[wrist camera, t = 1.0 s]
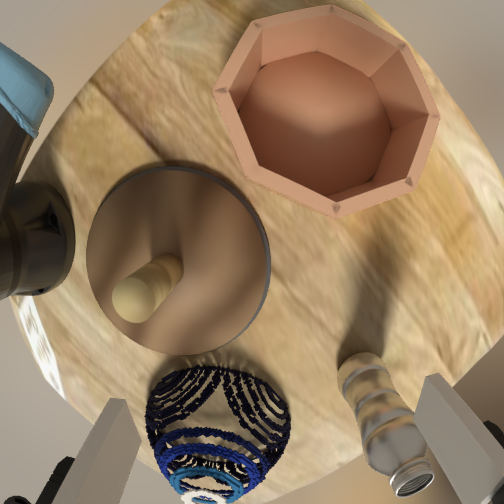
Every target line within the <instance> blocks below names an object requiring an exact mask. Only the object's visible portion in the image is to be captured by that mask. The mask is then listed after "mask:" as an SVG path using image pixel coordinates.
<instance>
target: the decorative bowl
mask: <svg viewBox="0 0 504 504" xmlns="http://www.w3.org/2000/svg"><path fill="white" fill-rule="evenodd" d="M199 369H200V371H199V374H197V373H198V370H199ZM190 370H191V372H190V374H189V375H188V376H187V378H185V376H186V375H187V373H188V371H190ZM203 370H204V373H203V375H204V376H201V378H199V377H200V375H201V374H202V372H203ZM212 370H213V371H215V370H217V371H215V374H214V375H213V376H212V381H213V382H212V381H210V382H209V384H207V387H205V389H204V390H203V392H202V393H201V394H200V395H201V397H200V398H199V397H197V398H195V399H194V401H192V403H190V404H188V405H187V407H185V409H183V406H182V405H184V404H186V401H187V400H189V399H190V398H191V397H193V396H194V394H196V392H198V390H199V389H200V388H201V387H202V385H203V384H204V383H205V381H206V380H207V377H209V375H210V374H211V373H212ZM220 370H221V373H220ZM225 371H226V374H225V375H224V372H225ZM229 372H230V373H231V374H233V373H234V374H233V376H234V377H235V376H236V378H235V379H234V382H233V383H232V384H233V386H234V385H235V386H236V387H237V388H236V390H237V391H238V393H236V396H237V398H238V399H240V400H241V403H242V405H241V407H242V411H243V412H244V413H245V414H246V416H247V417H248V418H249V421H250V422H251V423H252V424H256V425H258V426H259V427H260V428H261V429H262V430H263V431H264V432H265V433H266V434H268V435H269V436H270V437H269V439H270V440H272V441H273V442H274V441H276V442H277V443H276V442H275V443H273V444H271V443H268V440H267V439H266V438H265V437H264V436H262V435H261V434H260V433H259V432H258V431H257V430H256V429H255V428H254V429H252V428H251V427H249V426H248V423H247V422H246V421H245V420H244V418H243V417H242V416H241V414H240V411H239V410H240V409H241V408H240V407H239V404H238V402H237V399H236V398H235V396H234V395H233V396H232V394H234V391H233V389H232V386H231V385H230V386H229V383H231V380H230V376H229ZM194 373H195V374H197V377H195V376H196V375H195V374H194ZM240 374H241V377H242V379H243V381H244V380H245V381H244V382H243V383H244V384H246V386H247V387H248V391H249V393H250V396H251V398H252V399H253V402H254V404H255V406H254V408H255V411H259V412H258V415H259V416H260V418H261V419H262V420H263V421H264V422H265V423H266V424H267V425H268V426H269V427H270V428H271V429H272V430H275V431H278V432H279V433H281V432H282V433H284V435H282V436H283V437H280V436H279V435H278V434H277V433H274V434H273V433H270V432H269V431H268V430H267V429H265V428H264V427H263V426H262V425H261V424H260V423H259V422H258V420H257V419H256V418H255V416H256V414H255V413H254V412H253V409H252V407H251V404H250V403H249V402H248V400H247V398H246V397H245V394H244V392H243V391H242V392H241V390H243V388H242V384H241V383H239V382H241V377H240ZM223 375H224V377H223V379H224V380H225V381H224V383H223V384H222V386H223V390H224V391H225V390H226V392H224V394H225V397H227V400H228V404H229V407H230V408H231V409H232V411H233V414H234V415H235V416H238V418H240V419H241V420H239V423H240V425H241V426H242V427H243V428H244V429H245V428H247V429H248V430H249V431H250V432H251V434H252V435H253V436H254V437H255V438H257V439H258V440H259V441H260V442H261V443H262V444H264V445H267V446H266V448H267V449H268V450H267V452H264V453H263V454H261V451H260V450H259V449H258V448H257V447H256V446H254V445H253V444H252V443H251V442H250V441H245V440H244V439H243V438H242V437H241V436H240V435H238V436H237V435H235V434H234V433H233V432H231V433H230V432H226V431H224V432H223V431H222V430H221V429H219V430H218V429H214V428H212V429H211V428H207V427H205V428H202V427H200V428H199V427H198V426H197V427H195V428H193V429H192V428H191V427H190V428H188V429H187V428H186V427H185V428H183V429H181V430H180V429H179V428H178V429H176V430H173V431H171V432H169V433H166V434H164V435H163V434H162V433H161V432H160V431H159V429H164V428H166V425H168V424H170V423H172V422H175V421H177V420H179V419H180V420H184V419H186V417H187V416H189V415H190V413H189V412H192V413H193V412H195V411H196V410H197V409H198V407H200V406H202V404H204V402H205V401H206V400H207V399H208V397H210V395H212V393H213V392H214V390H213V388H214V389H216V388H217V385H219V382H221V379H220V376H223ZM172 377H173V378H172ZM249 377H251V378H252V379H254V384H255V386H256V387H257V391H258V393H259V395H260V396H261V399H262V401H263V402H264V404H265V405H266V408H267V409H268V410H269V411H270V412H271V413H273V414H274V415H275V416H276V417H277V418H279V419H281V420H282V419H286V422H285V424H284V425H283V426H281V425H279V424H276V423H275V422H272V421H271V420H270V419H269V418H268V417H267V418H265V417H266V416H267V414H266V413H265V412H263V409H262V408H261V407H260V405H259V404H258V403H257V401H259V398H258V396H257V394H256V392H255V390H252V389H251V386H253V384H252V383H250V382H251V379H249ZM171 378H172V379H171ZM184 378H185V380H184V381H183V382H182V380H183V379H184ZM193 378H195V379H194V380H193ZM198 378H199V381H198V383H199V384H198V386H197V385H194V384H195V383H196V382H197V380H198ZM169 379H171V380H170V381H169V382H167V383H165V381H167V380H169ZM248 379H249V380H248ZM162 380H163V381H161V382H159V383H158V384H157V386H156V387H155V388H154V390H153V391H151V393H150V394H151V395H150V397H149V400H148V404H147V406H146V412H145V413H146V414H145V416H144V417H145V419H146V420H145V421H146V424H147V425H146V427H145V428H146V430H147V431H146V432H147V433H148V435H147V436H148V439H149V441H150V446H152V449H154V457H155V459H156V460H157V464H158V465H159V468H160V469H161V473H163V474H164V476H165V477H166V478H167V479H168V481H169V483H170V484H171V486H172V487H174V489H175V490H176V491H177V492H178V493H179V494H180V497H181V500H183V501H184V503H186V504H198V503H196V502H201V503H208V504H229V503H232V502H234V501H235V500H238V498H240V497H241V496H243V495H244V494H246V493H248V492H249V491H251V490H252V489H254V488H255V487H256V486H257V485H259V483H261V482H263V480H264V479H266V478H265V475H266V473H268V471H269V469H271V468H272V467H273V466H274V465H275V464H276V462H277V461H278V460H279V458H281V455H282V454H284V449H285V447H286V444H288V439H290V430H291V424H290V421H291V418H290V415H289V414H288V410H287V409H288V407H287V404H286V403H285V402H284V401H283V400H282V399H281V398H280V396H279V395H278V394H277V393H276V392H275V391H274V390H273V389H272V388H271V387H270V386H269V385H268V384H267V383H266V382H263V381H262V380H261V379H259V380H258V379H257V378H256V377H255V378H254V377H253V376H252V375H251V374H249V375H248V374H247V372H245V373H244V372H242V373H241V372H240V371H239V370H238V371H237V370H236V369H235V370H233V369H232V370H231V369H230V368H229V367H227V368H226V369H225V368H221V367H220V366H218V367H215V366H214V367H213V366H209V365H208V366H206V367H205V366H202V367H200V366H197V365H196V366H194V367H193V368H191V369H190V368H187V369H186V370H184V369H182V370H180V371H178V372H176V371H174V372H173V373H171V374H169V375H168V376H166V377H164V378H163V379H162ZM189 380H191V381H192V380H193V381H192V383H190V385H188V387H186V389H185V390H184V391H183V389H182V387H183V386H184V385H185V384H186V383H187V382H188V381H189ZM180 382H182V383H181V384H180V385H179V386H178V387H176V386H177V385H178V384H179V383H180ZM212 384H213V385H214V386H213V385H212ZM261 384H263V385H264V387H265V391H266V392H267V394H268V396H269V399H270V400H271V401H272V402H273V403H274V404H275V405H276V406H277V407H278V408H279V409H281V410H284V413H283V414H279V413H277V412H276V411H275V410H274V409H273V408H272V407H271V406H270V405H269V404H268V402H267V401H266V399H265V396H264V395H263V394H262V391H261V388H260V385H261ZM192 385H194V387H192V389H191V386H192ZM228 386H229V387H228ZM174 387H176V388H175V389H174V390H172V389H173V388H174ZM227 387H228V388H227ZM189 389H191V390H190V391H189ZM171 390H172V392H170V393H169V394H167V395H165V396H163V397H161V398H159V397H158V398H156V397H155V395H158V396H161V395H163V394H165V393H167V392H169V391H171ZM178 390H180V391H183V392H181V393H180V394H179V395H177V397H175V398H173V399H171V398H169V397H170V396H171V395H173V394H175V393H177V392H178ZM187 391H189V392H187ZM185 392H187V393H186V394H185ZM272 392H273V393H274V394H275V395H276V396H277V397H278V399H279V401H278V400H277V399H276V398H275V397H274V395H273V393H272ZM183 394H185V395H184V397H182V396H183ZM180 397H182V398H180ZM167 398H169V399H167ZM179 398H180V400H178V399H179ZM230 398H232V399H233V401H231V400H230ZM165 399H167V400H165ZM161 400H165V401H163V402H161V405H160V406H159V405H158V406H155V405H153V403H154V402H156V403H158V402H160V401H161ZM176 400H178V401H176ZM170 401H172V402H174V401H176V402H175V403H174V404H172V405H170V406H169V407H167V408H164V409H162V410H158V409H160V408H162V407H164V404H166V403H168V402H170ZM196 403H198V404H196ZM177 405H180V407H178V408H177V407H176V406H177ZM235 406H236V408H237V409H236V410H235V409H234V407H235ZM151 409H153V410H154V409H155V410H158V411H156V412H155V411H154V412H153V411H152V410H151ZM181 409H183V410H181ZM180 410H181V413H182V414H180V415H178V416H177V415H176V414H175V413H177V412H179V411H180ZM186 411H188V413H186V414H185V413H184V412H186ZM159 414H160V415H159ZM173 414H175V415H173ZM251 414H252V415H253V416H254V417H253V418H252V417H251V416H250V415H251ZM171 415H173V416H171ZM168 416H171V417H169V418H167V419H164V418H166V417H168ZM157 417H158V418H157ZM155 418H157V419H158V420H162V419H164V420H162V423H161V422H160V421H154V420H153V419H155ZM158 424H159V425H158ZM156 429H157V431H156V432H157V435H156V433H155V430H156ZM183 435H184V437H185V438H186V437H190V438H191V437H194V436H195V437H196V438H197V437H199V436H201V435H204V436H205V437H209V436H211V435H213V436H214V437H215V438H216V437H221V438H222V439H223V440H227V441H229V442H230V441H231V442H236V443H237V444H238V445H242V446H243V447H245V448H246V449H247V450H248V451H250V452H251V453H252V454H253V455H255V456H256V457H255V458H253V459H249V458H248V457H246V456H245V455H244V454H243V453H241V454H240V453H238V452H237V451H236V450H234V451H233V450H232V449H227V448H226V447H222V446H221V445H218V446H215V445H214V444H210V443H208V444H204V443H203V444H201V443H198V444H196V443H193V444H191V443H187V444H185V445H184V444H183V443H182V444H180V445H177V446H175V445H173V444H172V443H171V441H174V440H176V439H179V438H181V436H183ZM275 436H276V439H275ZM166 442H167V443H168V444H169V445H171V446H172V448H168V447H167V445H166ZM276 448H277V451H276ZM271 451H272V452H271ZM162 452H163V453H162ZM194 453H198V454H199V453H201V454H205V455H207V454H210V455H212V456H216V457H217V456H222V457H223V458H224V459H226V458H227V459H228V460H230V461H231V462H227V463H226V466H225V467H226V469H228V470H230V471H229V473H231V475H230V474H229V473H227V472H225V470H224V464H225V462H218V461H217V462H215V461H210V460H207V459H202V458H199V457H195V456H192V455H191V454H194ZM186 454H187V458H186V459H185V461H180V460H181V459H182V458H184V455H186ZM264 455H265V456H264ZM270 455H271V456H270ZM192 457H193V458H194V459H193V460H192V464H187V466H183V465H186V463H187V462H190V460H191V459H192ZM257 458H259V463H254V462H253V461H252V460H254V459H257ZM173 459H174V460H179V461H180V462H178V461H174V460H173ZM272 459H273V460H272ZM196 461H197V465H196V466H193V465H194V464H195V463H196ZM206 461H207V464H205V463H206ZM233 461H234V462H233ZM209 462H210V466H209ZM172 463H173V464H172ZM203 463H204V464H205V466H203ZM213 463H214V466H213V468H212V464H213ZM216 463H217V465H218V466H219V465H220V466H219V468H218V470H217V467H216ZM235 463H237V467H236V468H238V469H239V471H241V472H243V473H245V474H246V473H247V475H245V474H241V473H239V472H237V471H236V468H235V465H234V464H235ZM242 464H243V465H245V466H246V467H244V468H243V467H242ZM172 465H173V466H172ZM182 466H183V467H182ZM192 466H193V467H192ZM261 466H262V467H261ZM175 467H176V468H175ZM258 467H259V468H258ZM167 468H169V469H170V470H172V471H173V472H174V473H173V474H170V472H169V471H168V470H167ZM219 470H220V471H219ZM232 475H233V476H235V477H236V478H238V479H240V480H237V479H236V478H234V477H233V476H232ZM205 476H210V477H213V478H214V479H215V480H216V482H217V483H221V484H222V485H223V484H225V485H226V486H231V489H233V490H218V491H217V490H214V489H213V490H209V489H206V488H204V489H202V488H200V487H199V486H198V487H195V486H193V485H192V486H191V485H190V484H188V483H187V482H183V481H182V480H181V479H185V478H189V479H199V478H202V477H205ZM247 478H248V479H247ZM244 479H245V480H244ZM227 482H228V483H227ZM246 483H249V484H248V487H245V488H244V487H243V484H246ZM180 485H182V486H183V485H184V486H185V487H187V488H190V489H191V488H192V489H193V490H189V489H187V488H185V487H182V486H180ZM218 493H219V494H218ZM220 494H230V495H222V496H221V495H220ZM196 496H200V497H201V498H203V499H204V498H205V497H206V498H207V499H214V500H215V501H214V500H211V501H210V500H206V499H205V500H203V499H200V498H196ZM195 501H196V502H195Z"/></svg>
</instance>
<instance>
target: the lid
mask: <svg viewBox="0 0 504 504" xmlns="http://www.w3.org/2000/svg"><path fill="white" fill-rule="evenodd" d="M86 265H87V272H88V278H89V281H90V285H91V288H92V291H93V293H94V296H95V298H96V300H97V302H98V304H99V306H100V308H101V309H102V311H103V312H104V313H105V315H106V316H107V318H108V319H109V320H110V321H111V322H112V323H113V325H114V326H115V327H116V328H118V329H119V330H120V331H121V332H122V333H123V334H124V335H126V336H127V337H128V338H130V339H131V340H133V341H135V342H136V343H138V344H140V345H142V346H144V347H146V348H149V349H151V350H154V351H158V352H161V353H166V354H172V355H193V354H199V353H204V352H208V351H210V350H213V349H216V348H218V347H220V346H222V345H224V344H226V343H227V342H229V341H230V340H232V339H233V338H234V337H236V336H237V335H238V334H239V333H240V332H241V331H242V330H243V329H244V328H245V327H246V326H247V324H248V323H249V322H250V321H251V319H252V318H253V316H254V314H255V312H256V311H257V309H258V307H259V304H260V302H261V299H262V296H263V292H264V288H265V282H266V256H265V250H264V245H263V242H262V238H261V235H260V232H259V230H258V228H257V226H256V224H255V221H254V220H253V218H252V217H251V215H250V214H249V212H248V210H247V209H246V208H245V207H244V206H243V204H242V203H241V202H240V201H239V200H238V199H237V198H236V197H235V196H234V195H233V194H232V193H231V192H230V191H228V190H227V189H225V188H224V187H222V186H221V185H220V184H218V183H216V182H214V181H212V180H210V179H208V178H206V177H203V176H200V175H197V174H194V173H189V172H184V171H174V170H165V171H155V172H151V173H147V174H143V175H141V176H138V177H136V178H134V179H132V180H130V181H128V182H126V183H125V184H123V185H122V186H120V187H119V188H118V189H117V190H115V191H114V192H113V193H112V194H111V195H110V196H109V197H108V198H107V200H106V201H105V202H104V203H103V205H102V206H101V208H100V209H99V211H98V213H97V214H96V216H95V218H94V220H93V223H92V226H91V229H90V232H89V236H88V241H87V249H86Z"/></svg>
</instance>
